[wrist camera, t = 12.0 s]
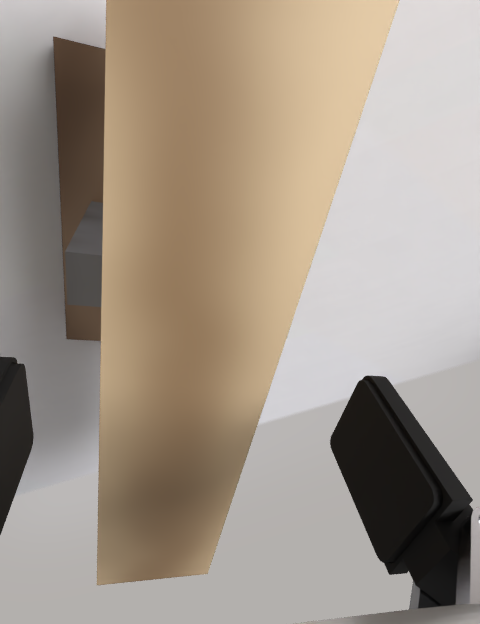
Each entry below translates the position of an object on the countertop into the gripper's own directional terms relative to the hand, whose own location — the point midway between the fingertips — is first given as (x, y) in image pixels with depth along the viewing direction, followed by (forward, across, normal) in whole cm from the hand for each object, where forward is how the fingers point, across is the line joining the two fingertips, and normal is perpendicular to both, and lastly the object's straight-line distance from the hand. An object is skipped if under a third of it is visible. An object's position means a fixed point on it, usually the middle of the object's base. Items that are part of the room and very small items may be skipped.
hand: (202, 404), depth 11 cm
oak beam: (+7, 0, 0) cm, 7 cm away
